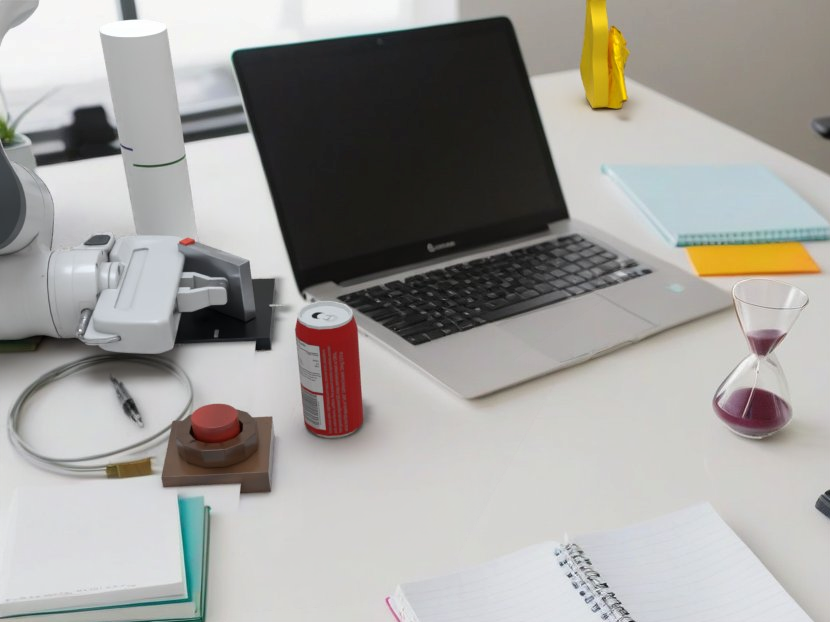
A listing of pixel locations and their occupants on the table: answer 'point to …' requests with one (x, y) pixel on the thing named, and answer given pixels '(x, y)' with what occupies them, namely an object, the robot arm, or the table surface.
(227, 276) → the grey upright flat block
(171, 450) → the button block
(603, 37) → the figure statuette
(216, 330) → the panel
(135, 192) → the cylindrical container
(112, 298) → the robot arm
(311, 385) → the soda can
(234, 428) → the button
